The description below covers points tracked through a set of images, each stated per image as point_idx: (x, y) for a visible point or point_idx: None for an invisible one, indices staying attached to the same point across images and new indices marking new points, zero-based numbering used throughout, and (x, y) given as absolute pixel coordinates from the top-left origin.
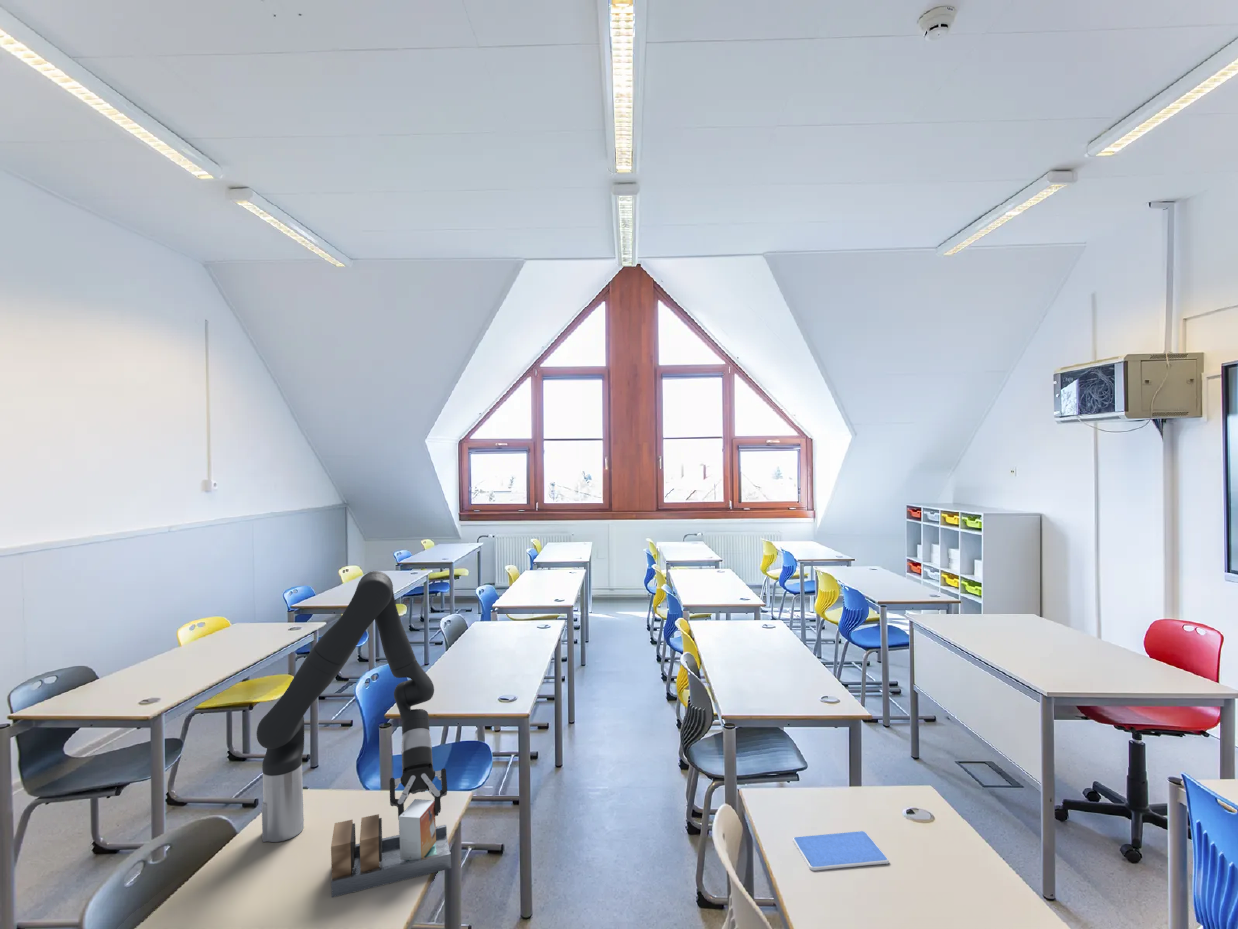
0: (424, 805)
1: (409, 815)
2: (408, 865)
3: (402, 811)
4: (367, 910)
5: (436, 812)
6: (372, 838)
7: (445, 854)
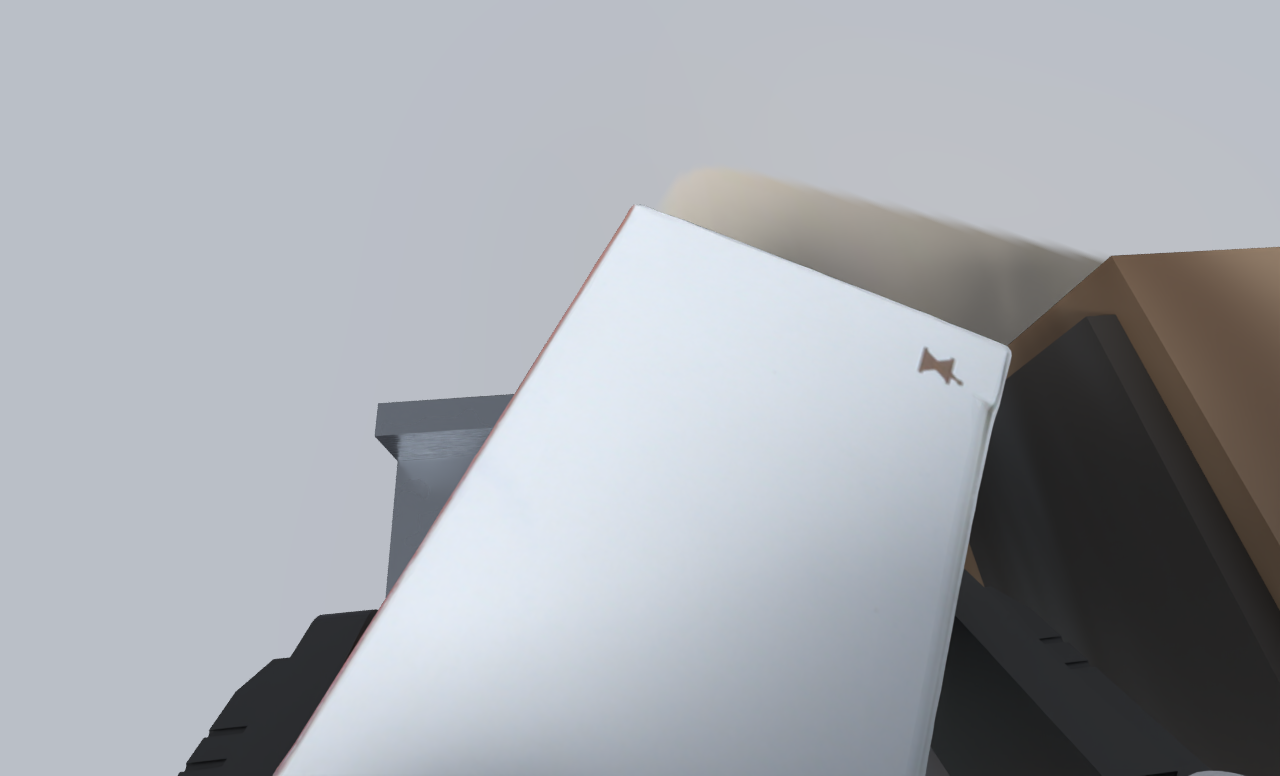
0: (549, 569)
1: (822, 311)
2: None
3: (1015, 644)
4: (875, 249)
5: (351, 615)
6: (1167, 256)
7: (421, 407)
